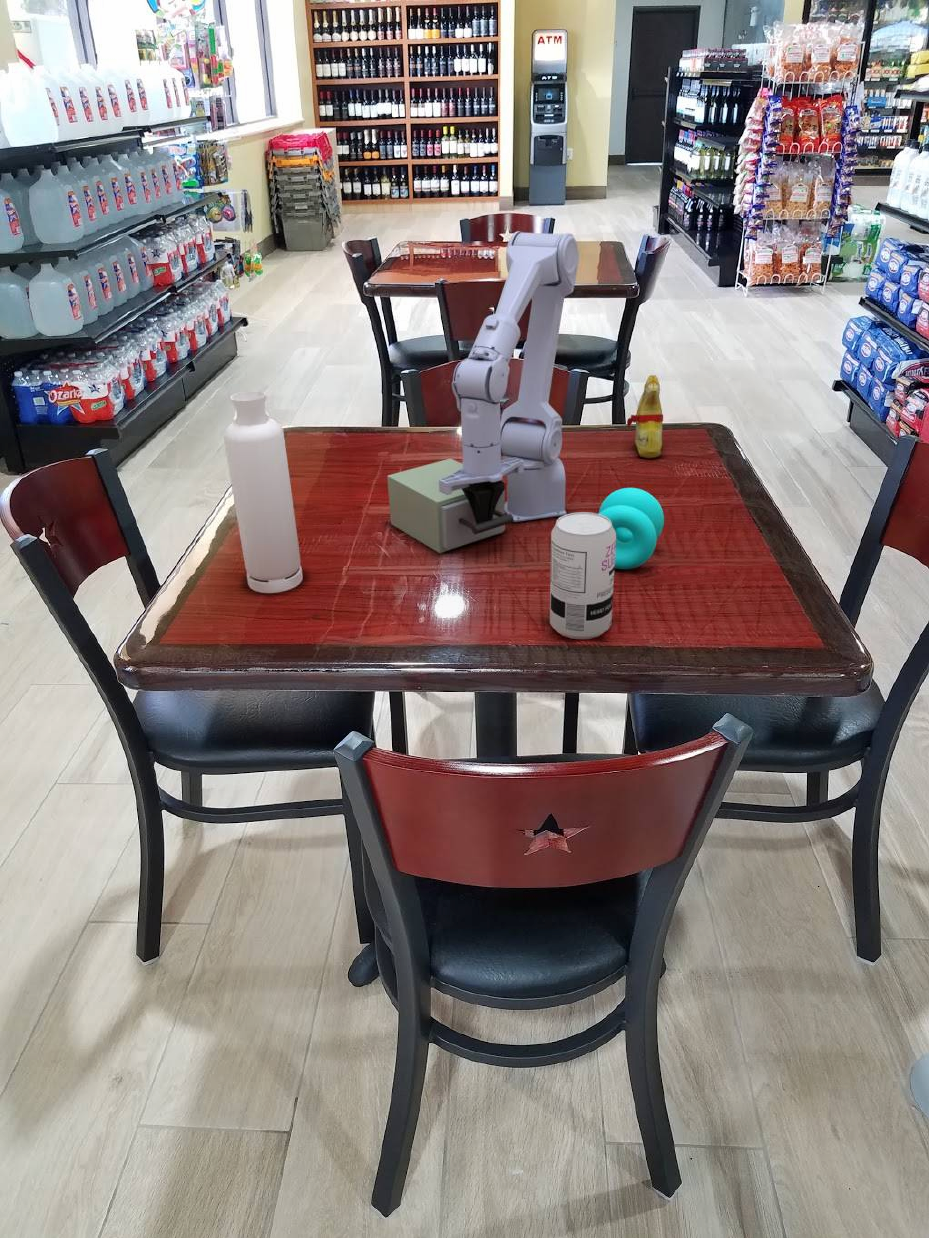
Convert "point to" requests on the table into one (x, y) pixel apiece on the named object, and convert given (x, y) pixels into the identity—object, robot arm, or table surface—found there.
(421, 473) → the green drawer cabinet
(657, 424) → the chocolate bunny
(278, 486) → the bottle
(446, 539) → the drawer
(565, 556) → the supplement can
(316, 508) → the table surface
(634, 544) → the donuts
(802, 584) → the table surface
